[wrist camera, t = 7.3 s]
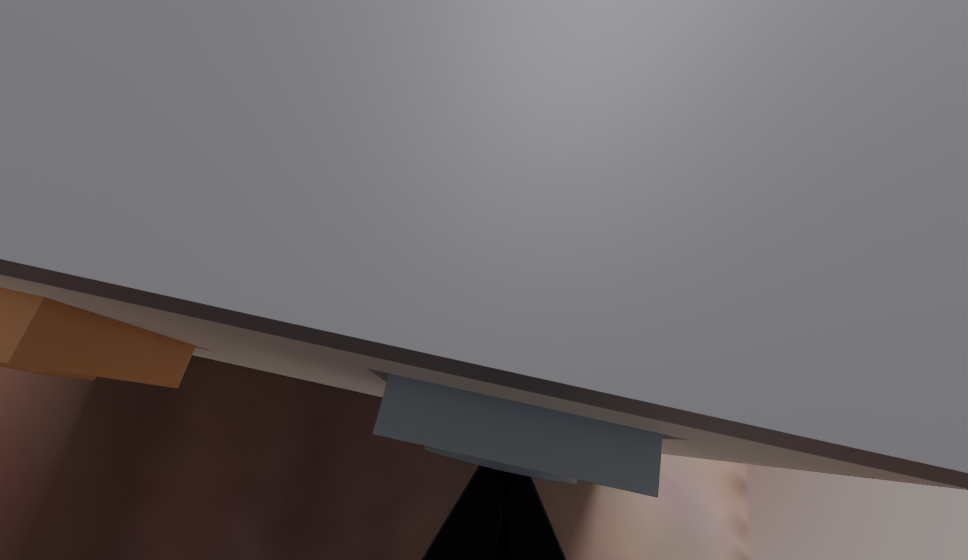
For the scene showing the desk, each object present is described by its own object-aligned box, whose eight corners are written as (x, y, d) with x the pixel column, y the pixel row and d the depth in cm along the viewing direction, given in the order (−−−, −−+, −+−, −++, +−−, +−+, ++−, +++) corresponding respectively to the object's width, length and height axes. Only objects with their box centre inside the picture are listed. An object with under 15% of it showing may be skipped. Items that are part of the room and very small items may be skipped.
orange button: (175, 394, 11) (1, 373, 7) (-1, 355, 11) (-282, 309, 7) (238, 244, 12) (127, 148, 8) (81, 210, 12) (-112, 96, 8)
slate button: (579, 478, 11) (657, 508, 7) (402, 438, 11) (369, 444, 7) (599, 319, 12) (675, 261, 8) (441, 284, 12) (434, 208, 8)
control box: (611, 453, 18) (1518, 594, 3) (105, 341, 18) (-1814, -144, 3) (632, 258, 20) (1136, -224, 5) (193, 162, 20) (-527, -574, 5)
